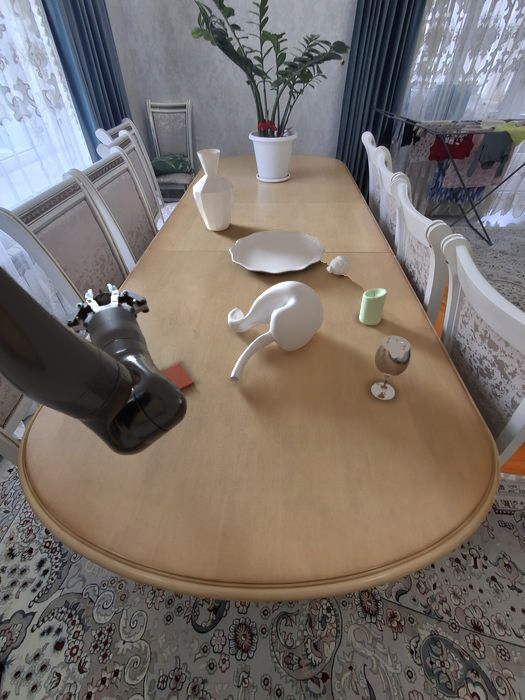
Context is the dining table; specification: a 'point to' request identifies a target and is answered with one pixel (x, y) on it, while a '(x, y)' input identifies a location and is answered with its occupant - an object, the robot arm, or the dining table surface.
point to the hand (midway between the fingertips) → (100, 291)
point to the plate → (277, 251)
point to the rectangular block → (178, 376)
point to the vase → (214, 193)
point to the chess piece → (103, 298)
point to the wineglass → (390, 363)
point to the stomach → (279, 319)
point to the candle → (372, 306)
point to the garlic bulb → (339, 265)
